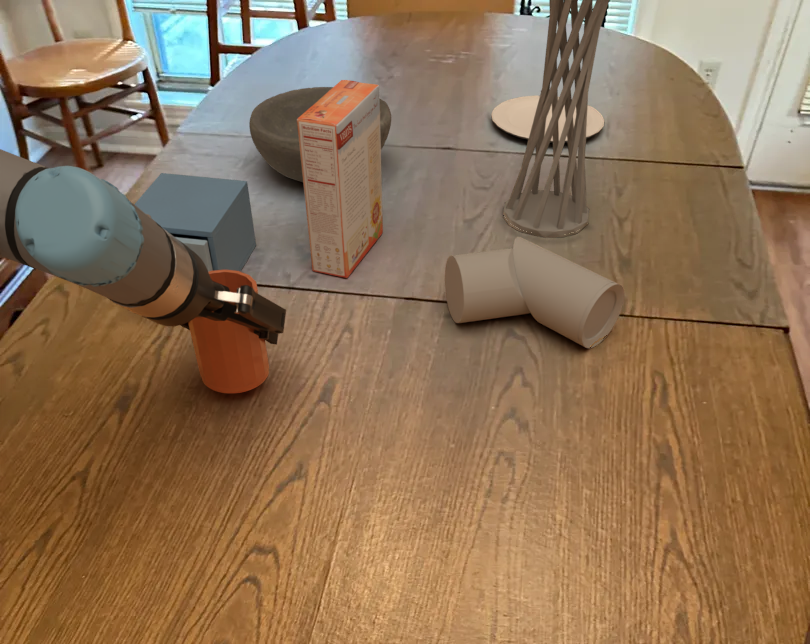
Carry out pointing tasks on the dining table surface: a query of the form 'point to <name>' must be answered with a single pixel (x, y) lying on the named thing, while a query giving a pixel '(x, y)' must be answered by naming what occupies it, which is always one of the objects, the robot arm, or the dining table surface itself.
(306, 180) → the cracker box
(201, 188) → the blue-grey drawer box
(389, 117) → the bowl
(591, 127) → the plate
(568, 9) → the vase
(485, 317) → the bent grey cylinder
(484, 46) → the dining table surface
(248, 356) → the clay cup
